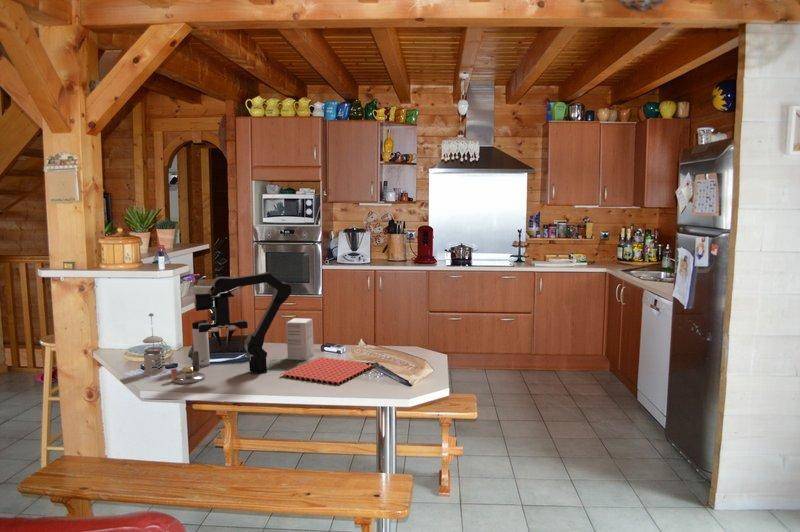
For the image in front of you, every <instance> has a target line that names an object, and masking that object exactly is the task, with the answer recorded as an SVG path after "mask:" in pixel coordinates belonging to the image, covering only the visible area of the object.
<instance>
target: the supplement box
mask: <svg viewBox="0 0 800 532" xmlns="http://www.w3.org/2000/svg"><path fill="white" fill-rule="evenodd" d="M313 323H314V322H313V318H303V317H301V318H300V317H299V318H298V317H297V318H295V317H293V318H292V319H289V320H288V321H287V322H286V323H285V325H286V326H285V327H286V329H285V330H286V346H287V349H286V351H287V360H293V361H296V360H297V361H304V360H305V361H307V360H309V359H310V358H311V357H313V356H314V354H315V353H314V351H315V348H314V347H315V346H314V326H313Z"/></svg>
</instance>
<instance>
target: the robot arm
mask: <svg viewBox="0 0 800 532" xmlns="http://www.w3.org/2000/svg"><path fill="white" fill-rule="evenodd" d="M257 284H258V285H259V284H267V285H269V286H270V287H271V288H272V289H273V291H272V293H271V294H272V295H271V301H270V303H269V305H268V306H267V308H266V310H265V311H264V314H263V315H262V317H261V319H260V322H259V323H258V325H257V327H256V328H255V330H254V332H252V333H251V332H248V334H247V337H246V338H245V340H244V341H243V342H244V349H245V351H246V352H248V353H247V354H249V355H250V359H249V360H248V361H249V362H248V363H249V364H248V365H249V366H248V367H249V372H250V374H251V373H252V374H261V373H262V374H263V373H267V372H268V367H267V365H268V364H267V356H268V352H267V351H266V350H265V349H264V348H263V346H264V342H265V337H266V334H267V332H268V330H269V329H270V327H271V325H272V324H273V323H272V322H273V321H274V319H275V317H276V315H277V313H278V311H279V309H280V308H281V306H282V305H283V304H284V302H286V301H287V300H288V298H289V297H290V296H291V294H292V291H293V290H292V287H291V285H290V284H289V283H288V282H287V283H286V282H284V281H280V280H279V279H278V278H276V277H275V276H274V275H272V274H271V273H270V272H267V271H266V272H263V273H262V272H261V273H256V274H249V275H244V276H243V275H242V276H234V277H233V276H216V277H215V278H214V279H213V280H212V286H210V289H209V290H208V292H205V293H199V292H198V293H197V292H196V293H194V301H193V303H194V311H195V312H198V311H208V310H209V311H210V310H211V309H212V308H214V312H210V322H214V323H213V324H211V323H210V324H209V321H208V322H207V323H199V325H198V328H199V332H200V333H201V332H208V333H209V331H210V334H212V335H213V334H214V336H215V337H216V340H217V343H218V345H219V346H220V347H219V348H222V341H221V335H220V330H219V329H227V334H226V336H227V337H226V347H227V348H228V347H229V346H230V343H231V342H230V341H231V339H232V336H233V334H234V332H237V329H236V328H238V329H240V330H242V329H244V330H245V329H248V328H249V327H248V326H249V325H248V321H247V320H246V319H245V318H243V319H236V320H235V322H231V312H230V311H231V310H230V298H234V297H235V294H233V293H232V292H231V291H232V290H234V289H236V288H237V289H238V288H241V287H246V286H252V285H257Z"/></svg>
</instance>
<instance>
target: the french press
mask: <svg viewBox="0 0 800 532" xmlns="http://www.w3.org/2000/svg"><path fill="white" fill-rule="evenodd" d="M154 316H155V315H154V313H152V312H151V313H149V314H148V317H150V320H151V323H150V324H153V317H154ZM151 334H152V335H150V336H148V337H145V338H144V339H143V340H142V343H143V344H152V347H148V348H145V349H144V353H143V362H144V365H143V366H144V371H143V372H142V375H143V376H147V377H148V376H150V377H152V376H158V375H157V374H160V375H163V374H165V373H164V372H165V371H166V370H167V369H166V366H165V365H166V364H165V363H166V362H165V357H166V356H167V354H168V353H167V352H168V346H167V342H165V341H164V338H163V337H161V336H158V335H154V333H153V328H151ZM157 343H158V345H162V346H163V347H161V346H159V347H158V346H157V347H156V346H155V347H154V345H155V344H157ZM164 344H165V345H164ZM165 347H166V351H165ZM158 365H160V366H159V367H157V368H152V367H156V366H158ZM162 365H163V367H162ZM160 367H162V368H160ZM158 368H160V369H158ZM165 369H166V370H165ZM162 373H163V374H162Z"/></svg>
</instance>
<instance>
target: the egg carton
mask: <svg viewBox="0 0 800 532" xmlns="http://www.w3.org/2000/svg"><path fill="white" fill-rule="evenodd" d="M362 362H363V361H358V362H357V361H354V360H348V359H347V360H344V359H339V358H335V359H334V357H331V358H329V357H324V356H322V357H321V356H320V357H317V358H315V359H313V360H310V361H307V362H306V363H303V364H301V365H299V366H296V367H293V368H292V369H288V370H285V371H284V372H281V373H280V376H279V377H281V375H283V377H284V379H285V378H287V377H286V376H288V377H289V379H292V376H293V378H294V380H297V377H298V378H299V380H300V381H302V378H303V379H304V381H307V379H308V380H310V382H313V380H314V381H315V383H318V380H319V382H321V384H324V383H325V382H326V384H327V385H328V384H329V382H330V383H332V386H333V385H334V386H335V384H334V383H336V384H337V386H338V387H339V386H340V382H341V385H343V383H344V381H345V383H347V379H348V381H350V380H351V379H354V376H355V377H357V376H358V375H359V376H360V375H361V372H362V373H364V371H365V372H367V370H369V369H370V370H371V368H372V365H371V364H372V363H369V365H367V364H366V363H367V362H364V363H362ZM362 364H363V365H362ZM364 369H365V370H364ZM323 382H324V383H323Z"/></svg>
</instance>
